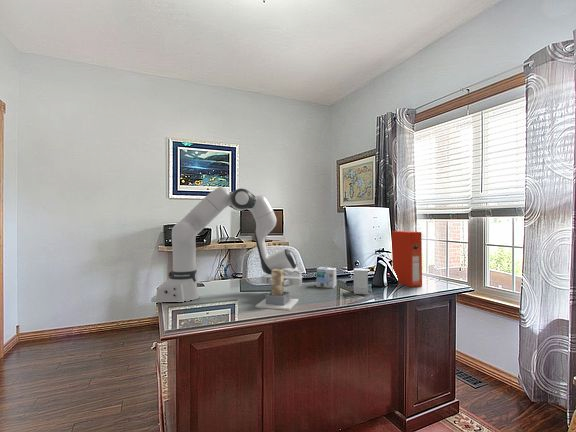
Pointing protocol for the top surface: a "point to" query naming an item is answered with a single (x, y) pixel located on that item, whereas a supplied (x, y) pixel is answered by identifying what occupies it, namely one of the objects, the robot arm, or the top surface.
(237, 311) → the top surface
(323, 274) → the light bulb box
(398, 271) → the file binder
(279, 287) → the maple post
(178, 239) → the robot arm
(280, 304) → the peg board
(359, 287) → the supplement box
